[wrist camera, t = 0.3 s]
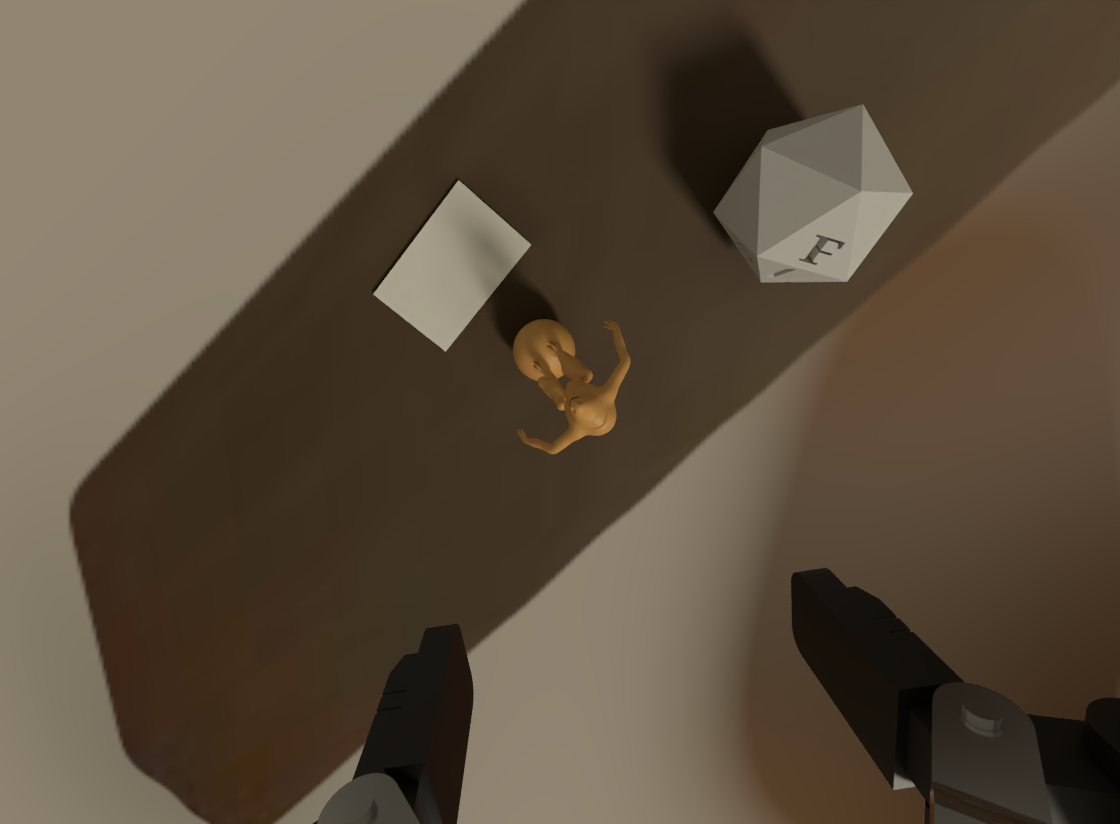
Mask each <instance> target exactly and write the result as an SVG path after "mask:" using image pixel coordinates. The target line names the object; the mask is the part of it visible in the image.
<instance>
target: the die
mask: <svg viewBox="0 0 1120 824" xmlns="http://www.w3.org/2000/svg"><path fill="white" fill-rule="evenodd" d="M912 194H913V192H912V191H911V189H910V187H909V185H908V184H907V182H906V180H905V178H904V176H903V175H902V173H901V171H900V169H899V168H898V166H897V164H896V162H895V160H894V159H893V157H892V155H891V153H890V152H889V150H888V148H887V146H886V144H885V143H884V141H883V139H882V137H881V136H880V134H879V132H878V130H877V128H876V127H875V125H874V123H873V121H872V119H871V118H870V116H869V114H868V112H867V111H866V109H865V107H864V105H863V104H861V105H858V106H854V107H850V108H847V109H843V110H839V111H836V112H832V113H828V114H825V115H821V116H817V117H814V118H810V119H806V120H803V121H799V122H795V123H791V124H788V125H784V126H780V127H777V128H773V129H769V130H767V132H766V133H765V135H764V136H763V138H762V139H761V141H760V142H759V144H758V145H757V147H756V148H755V150H754V151H753V153H752V155H751V156H750V158H749V159H748V161H747V162H746V164H745V165H744V167H743V168H742V170H741V171H740V173H739V174H738V176H737V177H736V179H735V180H734V182H733V183H732V185H731V186H730V188H729V189H728V191H727V192H726V194H725V195H724V197H723V198H722V200H721V201H720V203H719V204H718V206H717V207H716V209H715V210H714V212H713V213H714V214H715V216H716V217H717V219H718V220H719V221H720V223H721V224H722V226H723V227H724V229H725V230H726V232H727V233H728V235H729V236H730V238H731V239H732V240H733V242H734V243H735V245H736V246H737V248H738V249H739V251H740V252H741V254H742V255H743V257H744V258H745V260H746V261H747V262H748V264H749V265H750V267H751V268H752V270H753V271H754V273H755V274H756V276H757V277H758V279H759V280H760V281H761V282H788V281H789V282H847V281H848V280H849V278H850V277H851V276H852V274H853V273H854V272H855V270H856V269H857V268H858V266H859V265H860V264H861V262H862V261H863V260H864V258H865V257H866V256H867V254H868V253H869V251H870V250H871V249H872V247H873V246H874V245H875V243H876V242H877V241H878V239H879V238H880V237H881V235H882V234H883V233H884V231H885V230H886V229H887V227H888V226H889V225H890V223H891V222H892V221H893V219H894V218H895V217H896V215H897V214H898V213H899V211H900V210H901V209H902V207H903V206H904V204H905V203H906V202H907V200H908V199H909V198H910V196H911V195H912Z"/></svg>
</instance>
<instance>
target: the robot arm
mask: <svg viewBox="0 0 1120 824" xmlns="http://www.w3.org/2000/svg"><path fill="white" fill-rule="evenodd" d="M791 596H792V629H793V635H794V639H795V642H796V645H797V647H798V649H799V651H800V653H801V655H802V657H803V658H804V659H805V661H806V662H807V664H808V665H809V667H810V668H811V670H812V671H813V673H814V674H815V676H816V677H817V679H818V680H819V682H820V683H821V684H822V686H823V687H824V689H825V690H826V692H827V693H828V695H829V696H830V698H831V699H832V701H833V702H834V704H835V705H836V706H837V708H838V709H839V711H840V712H841V714H842V715H843V717H844V718H845V720H846V721H847V723H848V724H849V725H850V727H851V728H852V730H853V731H854V733H855V734H856V736H857V737H858V739H859V740H860V742H861V743H862V744H863V746H864V748H865V749H866V750H867V752H868V753H869V755H870V756H871V758H872V759H873V761H874V762H875V764H876V765H877V767H878V768H879V769H880V771H881V772H882V774H883V775H884V777H885V778H886V780H887V781H888V783H889V784H890V786H891V787H892V789H893V790H896V789H902V788H908V787H915V786H916V788H917V789H918V790H919V792H920V793H921V794H922V796H923V797H924V799H925V804H924V824H1120V698H1102V699H1097V700H1095V701H1093V702H1091V703H1090V704H1089V705H1088V707H1087V710H1086V715H1085V720H1084V721H1080V720H1071V719H1062V718H1053V717H1044V716H1036V715H1030V714H1026V713H1025V711H1023V710H1022V709H1021V708H1020V707H1019V706H1018V705H1017V704H1016V703H1014V702H1013V701H1012V700H1010V699H1008V698H1007V697H1005V696H1003V695H1002V694H1000V693H998V692H996V691H993V690H991V689H988V688H986V687H983V686H980V685H975V684H971V683H965V682H964V681H963V680H962V679H961V678H959V676H958V675H956V674H955V672H954V671H953V670H951V669H950V668H949V667H948V666H947V665H946V664H945V663H944V662H943V661H942V660H941V659H940V658H939V657H938V656H937V655H936V654H935V653H934V652H933V651H932V650H931V649H930V648H929V647H928V646H927V645H926V644H925V643H924V642H923V641H922V640H921V639H920V638H919V637H918V636H917V635H916V634H915V633H914V632H910V629H909V628H908V627H907V626H906V625H905V624H904V623H903V622H902V621H901V620H900V619H899V618H898V619H897V618H896V615H895V614H894V613H893V612H892V611H891V610H890V609H889V608H888V607H887V606H886V605H885V604H884V603H883V602H882V601H881V600H880V599H878V598H876V597H875V596H873V595H871V594H869V593H867V592H865V591H864V590H862V589H860V588H858V587H856V586H855V587H848V588H847V587H846V586H845V585H844V584H843V583H842V582H841V581H840V580H839V579H838V578H837V577H836V576H835V575H834V574H833V573H832V572H831V571H830V570H829V569H827V568H822V569H815V570H808V571H802V572H796V573H793V575H792V578H791ZM472 709H473V682H472V675H471V671H470V666H469V662H468V658H467V654H466V649H465V645H464V641H463V637H462V632H461V629H460V626H459V625H458V624H453V625H446V626H440V627H433V628H427V629H426V630H425V632H424V635H423V638H422V642H421V645H420V648H419V652H418V653H415V654H409V655H404V657H403V658H402V659H401V660H400V661H399V663H398V664H397V665H396V666H395V668H394V669H393V670H392V671H391V673H390V674H389V677H388V680H387V683H386V686H385V689H384V691H383V697H381V700H380V703H379V706H378V709H377V714H375V717H374V720H373V723H372V726H371V728H370V731H369V734H368V737H367V740H366V743H365V746H364V748H363V751H362V754H361V757H360V760H359V763H358V766H357V769H356V771H355V774H354V777H353V779H352V781H350V782H349V783H347V784H346V785H344V786H343V787H342V788H340V789H339V790H338V791H337V792H336V793H335V794H334V795H333V796H332V797H331V799H330V800H329V801H328V802H327V804H326V805H325V807H324V808H323V810H322V812H321V814H320V816H319V819H318V821H316V822H315V823H313V824H457V818H458V810H459V803H460V796H461V789H462V781H463V774H464V766H465V759H466V752H467V745H468V737H469V731H470V723H471V715H472Z"/></svg>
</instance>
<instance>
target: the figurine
mask: <svg viewBox="0 0 1120 824" xmlns="http://www.w3.org/2000/svg"><path fill="white" fill-rule="evenodd" d="M608 321H609V322H610V323H609V322H607V321H604V322H605V323H606V324H607V325H608V326H609V327H607V326H604V328H606V329H609V330H612V331H613V332H614V342H615V346H616V348H617V351H618V356H619V359H620V363H619V364H618V366H617V367H616V368H615V370H614V371H613V373H612V374H611V376H610V378H609V379H608V381H607V382H606V384H605V385H603V386H602V387H597V386H595V385H593V384H589V383H588V382H589V381H590V380H591V379H592V377H593V374H592V372H591V371H590V370H589V369H587V368H585V367H584V366H583V365H582V364H581V362H580V361H579V360H578V359H577V358H575V357H574V356H575V345H574V341H573V338H572V336H571V334H570V333H569V331H568V330H567V329H566V328H565V327H564V326H563V325H561V324H560V323H558V322H556V321H553V320H549V319H539V320H535V321H532V322H530V323H528V324H527V325H525V326H524V327H523V328H522V329H521V330H520V331H519V333H518V334H517V336H516V338H515V341H514V345H513V355H514V360H515V362H516V365H517V366H518V368H519V369H520V371H521V372H522V373H523V374H525V375H526V376H527V377H529V378H531V379H533V380H536V381H538V385H539V386H540V387H541V388H542V389H543V390H544V392H545V393H546V394H547V395H548V396H549V397H550V398H551V399H552V400H554V402H555V404H556V406H557V408H558V409H559V410H565V414H566V417H567V419H568V422H569V428H568V430H567V431H566V432H565V433H563V434H562V435H561V436H560V437H559V438H558V439H557V440H556V441H555V442H554V443H553V444H550V443H548V442H543V441H541V440H539V439H535V438H527V437H526V435H525V433H524V431H523V430H522V429H521V431H520V430H519V429H517V430H518V435H519V436H520V438H521V439H522V441H523V442H524V443H526V444H529V445H531V446H533V447H536V448H539V449H543V450H545V451H546V452H548V453H550V454H555V453H558V452H559V451H561V450H562V449H564V448H565V447H567V446H568V445H569V444H571V443H572V442H573V441H576V440H578V439H580V438H582V437H583V436H585V435H594V436H599V435H603V434H605V433H607V432H609V431H610V430H611V429H612V428H613V426H614V424H615V421H616V409H615V404H614V400H615V397H616V395H617V392H618V388H619V385H620V384H621V382H622V380H623V378H624V376H625V374H626V372H627V370H628V368H629V366H630V357H629V355H628V353H627V351H626V347H625V344H624V341H623V338H622V336H621V333H620V328H619V326H618V325H617V323H616V322H614V321H613V322H612V321H611V320H608ZM562 375H565V376H567V377H568V378H570V379H572V381H571V382H569V383H568V384H567V386H566V389H565V387H564V385H563V384H562V383H561V382H560V381H558V379H557V378H559V377H561V376H562Z"/></svg>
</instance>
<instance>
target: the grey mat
mask: <svg viewBox="0 0 1120 824" xmlns="http://www.w3.org/2000/svg"><path fill="white" fill-rule="evenodd" d="M530 246H531V244H530V243H529V242H528V241H527V240H526V239H524V238H523V237H522V236H521V235H520V234H519V233H518V232H517V231H515V230H514V229H513V228H512V227H511V226H510V225H509V224H507V223H506V222H505V221H504V220H503V219H502V218H501V217H500V216H498V215H497V214H496V213H495V212H494V211H493V210H492V209H491V208H489V207H488V206H487V205H486V204H485V203H484V202H483V201H482V200H480V199H479V198H478V197H477V196H476V195H475V194H474V193H473V192H471V191H470V190H469V189H468V188H467V187H466V186H465V185H464V184H462V183H461V182H460V181H459V180H458V182H457V183H456V184H455V186H454V187H453V188H452V190H451V191H450V192H449V194H448V195H447V196H446V198H445V199H444V200H443V202H442V203H441V204H440V206H439V207H438V208H437V210H436V211H435V212H434V214H433V215H432V216H431V218H430V219H429V220H428V222H427V223H426V224H425V226H424V227H423V228H422V230H421V231H420V232H419V234H418V235H417V236H416V238H415V239H414V240H413V242H412V243H411V244H410V246H409V247H408V248H407V250H406V251H405V252H404V254H403V255H402V256H401V258H400V259H399V260H398V262H397V263H396V264H395V266H394V267H393V268H392V270H391V271H390V272H389V274H388V275H387V276H386V278H385V279H384V280H383V282H382V283H381V284H380V286H379V287H378V288H377V290H376V291H375V292H374V295H375V296H376V297H377V298H379V299H380V300H381V301H382V302H384V303H385V304H386V305H387V306H389V307H390V308H391V309H392V310H394V311H395V312H396V313H398V314H399V315H400V316H401V317H403V318H404V319H405V320H406V321H408V322H409V323H410V324H411V325H413V326H414V327H415V328H416V329H418V330H419V331H420V332H422V333H423V334H424V335H425V336H427V337H428V338H429V339H430V340H432V341H433V342H434V343H435V344H437V345H438V346H439V347H440V348H442V349H443V350H444V351H447V349H448V348H449V347H450V346H451V344H452V343H453V342H454V341H455V339H456V338H457V337H458V336H459V334H460V333H461V332H462V331H463V329H464V328H465V327H466V326H467V324H468V323H469V322H470V321H471V319H472V318H473V317H474V316H475V314H476V313H477V312H478V311H479V309H480V308H481V307H482V306H483V304H484V303H485V302H486V301H487V299H488V298H489V297H490V296H491V294H492V293H493V292H494V291H495V289H496V288H497V287H498V286H499V284H500V283H501V282H502V281H503V279H504V278H505V277H506V276H507V274H508V273H509V272H510V271H511V269H512V268H513V267H514V266H515V264H516V263H517V262H518V261H519V259H520V258H521V257H522V256H523V254H524V253H525V252H526V251H527V249H528V248H529V247H530Z"/></svg>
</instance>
